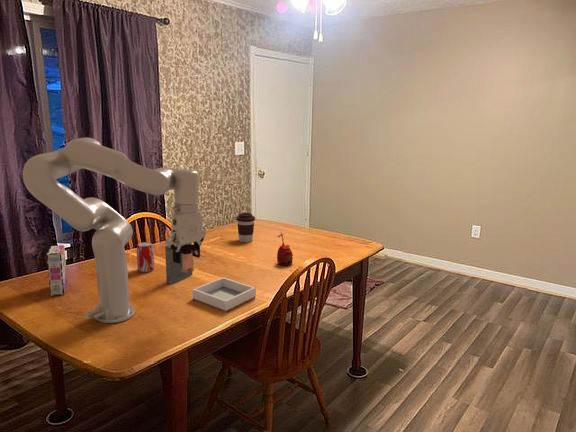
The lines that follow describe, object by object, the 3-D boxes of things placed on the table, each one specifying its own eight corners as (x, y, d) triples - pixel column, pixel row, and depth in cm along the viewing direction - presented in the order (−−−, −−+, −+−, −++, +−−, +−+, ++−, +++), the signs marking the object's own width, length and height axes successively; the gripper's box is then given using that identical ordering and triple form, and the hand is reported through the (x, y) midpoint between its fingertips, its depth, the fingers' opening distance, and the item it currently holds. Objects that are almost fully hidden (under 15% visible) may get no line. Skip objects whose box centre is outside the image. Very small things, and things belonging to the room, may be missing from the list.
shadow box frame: (226, 312, 151) (226, 301, 150) (192, 299, 161) (192, 289, 160) (255, 297, 164) (255, 287, 163) (223, 286, 173) (223, 277, 172)
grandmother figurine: (192, 266, 149) (192, 231, 146) (199, 269, 147) (199, 233, 144) (173, 272, 143) (173, 235, 141) (181, 275, 141) (180, 237, 138)
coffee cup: (235, 238, 239) (235, 212, 236) (252, 237, 242) (252, 211, 239) (238, 244, 230) (238, 216, 227) (256, 242, 233) (256, 215, 230)
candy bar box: (65, 295, 162) (61, 253, 158) (50, 296, 160) (45, 254, 156) (68, 284, 172) (64, 244, 168) (54, 285, 170) (50, 245, 166)
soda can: (149, 273, 185) (148, 247, 182) (134, 272, 186) (132, 245, 183) (157, 268, 192) (156, 242, 189) (143, 266, 193) (141, 241, 190)
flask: (195, 274, 186) (194, 233, 182) (172, 285, 173) (170, 242, 169) (188, 272, 187) (187, 232, 183) (165, 283, 175) (163, 240, 171)
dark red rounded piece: (282, 267, 197) (283, 235, 194) (273, 263, 202) (273, 232, 199) (295, 264, 202) (296, 233, 198) (285, 260, 207) (286, 229, 204)
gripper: (172, 214, 131) (173, 269, 135) (214, 206, 145) (213, 256, 149) (156, 210, 135) (157, 263, 139) (198, 202, 149) (198, 251, 153)
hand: (186, 259), depth 144 cm, fingers closed on grandmother figurine, 7 cm apart
